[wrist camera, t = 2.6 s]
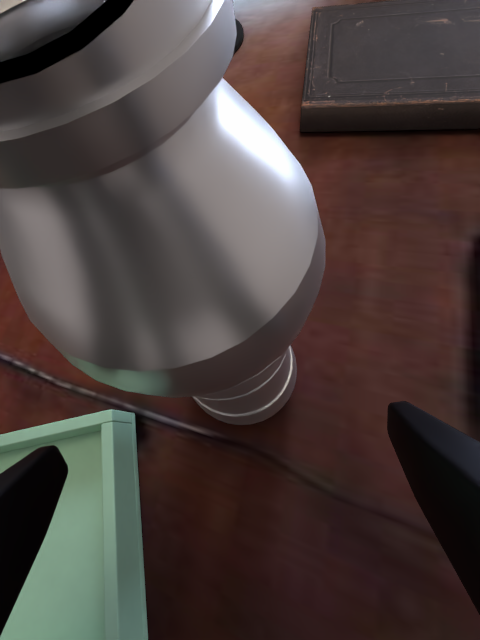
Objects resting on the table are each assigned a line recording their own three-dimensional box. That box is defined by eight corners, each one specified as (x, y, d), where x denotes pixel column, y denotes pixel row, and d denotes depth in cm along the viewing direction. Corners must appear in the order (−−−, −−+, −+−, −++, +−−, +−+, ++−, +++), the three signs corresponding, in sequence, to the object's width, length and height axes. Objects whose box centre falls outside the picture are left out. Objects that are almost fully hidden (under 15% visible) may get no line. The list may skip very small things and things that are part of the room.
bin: (149, 659, 15) (120, 708, 13) (-75, 702, 16) (-150, 758, 13) (135, 413, 20) (111, 408, 17) (-37, 452, 21) (-86, 454, 18)
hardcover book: (310, 34, 33) (312, 7, 31) (550, 16, 29) (571, -16, 27) (299, 136, 28) (300, 111, 26) (593, 131, 24) (624, 101, 22)
